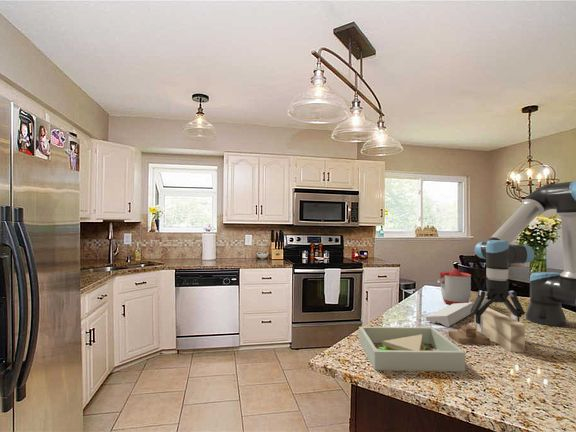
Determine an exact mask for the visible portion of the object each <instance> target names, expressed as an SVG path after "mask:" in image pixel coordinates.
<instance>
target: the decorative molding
mask: <svg viewBox="0 0 576 432" xmlns="http://www.w3.org/2000/svg"><path fill="white" fill-rule="evenodd" d="M473 304H474V302H473V301H472V302H470V301H469V302H468V303H455V304H451V305H450V304H448V306H445V307H444V308H441V309H439V310H436V311H435V312H433V313H431V314H429V315H426V316H425V318H426V321H427V322H431V324H433V325H434V324H441V325H443V326H445V327H447V328H449V327H450V326H453V325H455V324H456V323H458V322H459V321H461V320H463V319H464V318H466V317H468V316H469V315H471V314H472V313H471V312H470V310H471V308H472V306H473Z"/></svg>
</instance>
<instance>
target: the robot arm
mask: <svg viewBox="0 0 576 432" xmlns="http://www.w3.org/2000/svg"><path fill="white" fill-rule="evenodd" d="M549 210H556V214H557V215H558V216H560V219H561V234H562V235H561V237H562V239H561V241H562V254H563V255H562V257H563V258H562V259H563V271H562V272H561V273H560V272H555V271H554V272H552V271H550V272H548V271H546V272H543V271H542V272H532V273H531V274H530V276H529V304H528V307H527V309H526V312H525V310H524V308H523V306H522V304H521V302H520V300H519V298H518V293H517V291H516V290H515V291H514V290H509V287H510V283H509V278H510V277H509V273H510V272H509V267H510V266H509V265H510V264H529V263H531V262H532V261H533V260H534V258H535V250H534V249H533V248H532V247H531V246H529V245H527V244H512V243H513V242H514V241H515V239H516V238H517V237H518V236H519V235H521V233H522V232H523V231H524V230H525V229H526V228H527V227H528V226H529V225H530V223H532V222H533V221H534V219H536V218H537V216H541V215H543V214H544V213H545V212H546V211H549ZM474 253H475V255H476V256H477V257H478V258H479V259H484V260H486V261H485V262H486V263H485V264H486V270H485V271H486V274H485V275H486V276H485V277H486V280H485V281H486V282H485V287H486V290H485V291H483V290H482V289H481V290H480V289H479V290H478V293H477V297H476V298H475V300H474V302H473V306H472V308H471V310H470V312H471V314H473V315H474V323H475V322H476V323H477V330H476V331H478V332H480V333H483V316H481V315H482V314H483V313H484V311H485V310H486V309H487V308H490V305H492V304H494V303H501V304H502V303H503V304H504V305H505V306H506V308H508V310H509V311H510V312H511V313H512V314H510V318H512V319H514V320H516V321H518V322H520V318H522V316H524V315H525V319H526V320H527V321H530V322H531V323H535V324H540V325H544V326H545V325H546V326H552V327H565V326H568V325H567V321H568V320H567V318H566V315H565V311H564V309H563V307H562V304H564V305H568V306H569V305H570V306H573V307H576V180H573V181H566V182H565V181H564V182H556V183H554V182H553V183H548V184H546V185H545V184H544V185H542V186H541V187H539V188H537V189H535V190H534V191H532V192H531V193H530V194H528V195H527V196H526V197H525V198H524V199H523V200H522V201H521V202H520V206H519V208H517V209H516V210H515V212H513V214H512V215H511V216H510V217H509V218H508V219H506V221H505V222H504V223H503V224H502V225H501V226H499V228H498V229H497V230H496V231H495V232H494V233H493V234H492V235H491V236H490V237H489V239H487V240H486V241H480V242H478V243H476V244H475V247H474ZM485 297H486V298H485ZM508 297H510V300H511V301H510V300H509V299H508ZM511 302H512V303H511Z"/></svg>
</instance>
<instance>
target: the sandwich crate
mask: <svg viewBox="0 0 576 432" xmlns="http://www.w3.org/2000/svg"><path fill="white" fill-rule="evenodd" d="M421 334H422V341H423V344H424V345H425V344H426V345H427V344H429V345H431V346H432V347H433V348H434V349H436V350H424V351H404V350H382V349H379V350H378V349H377V347H376V346H375V344H382V341H385V340H391V339H397V338H403V337H409V336H415V335H421ZM358 342H359V344H360V347H361V348H362V350H363V352H364V353H365V356H366V357H367V359H368V360H369V361H368V362H370V364H371V366H372V368H373V370H374V371H410V372H411V371H413V372H414V371H416V372H417V371H419V372H423V371H424V372H426V371H429V372H466V351H465V350H463V349H462V348H460V347H459V346H457V345H456V344H455V343H453V342H452V341H451V340H450V339H448V338H447V337H446V336H444V335H443V334H442V333H440V332H439V331H438V330H437V329H436V328H434V327H433V326H431V327H429V326H423V327H422V326H358Z"/></svg>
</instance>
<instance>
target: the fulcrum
mask: <svg viewBox="0 0 576 432" xmlns="http://www.w3.org/2000/svg"><path fill="white" fill-rule="evenodd" d="M448 337H449V338H451V339H452V340H453V341H454V342H456V343H457V344H459V343H467V344H466V345H468V344H471V345H472V344H474V345H475V344H476V345H477V344H479V345H490V344H491V339H490V338H489V337H487V336H485V335H484V334H482V333H480V332H479V331H477V330H476V328H475V326H472V325H461V327H460V331H459V330H448Z"/></svg>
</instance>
